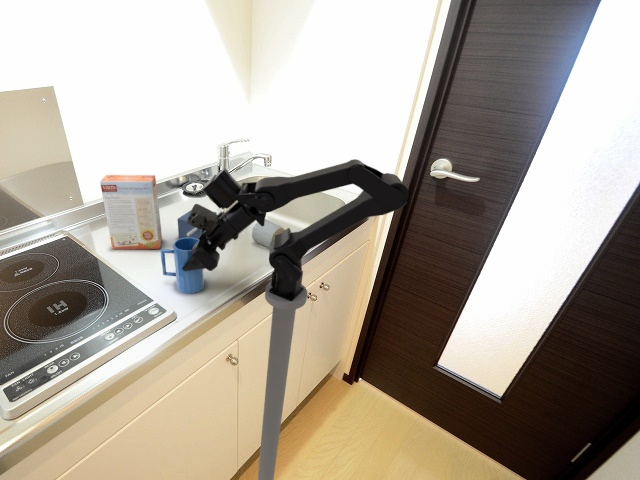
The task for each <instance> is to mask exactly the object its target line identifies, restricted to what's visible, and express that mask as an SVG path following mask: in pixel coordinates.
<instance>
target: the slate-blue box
mask: <svg viewBox="0 0 640 480" xmlns="http://www.w3.org/2000/svg"><path fill="white" fill-rule="evenodd" d="M211 211H212V212H213V213H215V214H217V215H218V213H217V212H216V211H213V210H211ZM190 212H191V210H189V211H187V212H186V213H184V214H183V215H181V216H180V217H178V218H177V230H178V231H177V232H178V233H177V234H178V239H181V238H187V237H191V238H197V239H198V238H199V237H200V235H201V234H202V229H198V228H196V227H194V226H192V225H190V224H188V223H187V219H188V216H189V214H190Z"/></svg>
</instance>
